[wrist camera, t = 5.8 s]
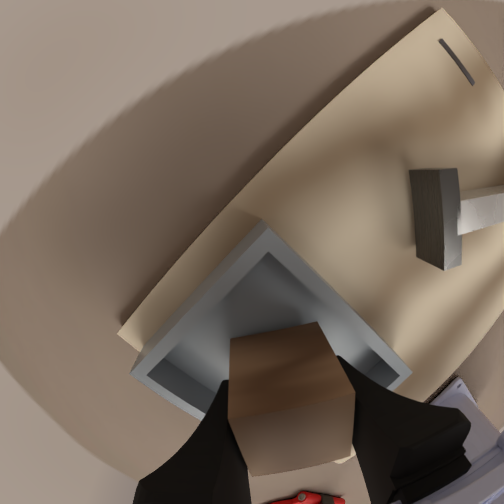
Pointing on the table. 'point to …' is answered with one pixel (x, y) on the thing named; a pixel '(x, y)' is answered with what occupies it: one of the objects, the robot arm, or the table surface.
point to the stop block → (289, 400)
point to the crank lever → (449, 214)
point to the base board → (377, 205)
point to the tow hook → (312, 499)
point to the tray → (255, 323)
